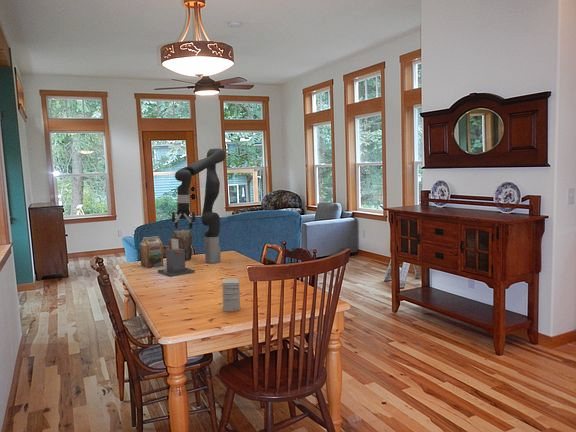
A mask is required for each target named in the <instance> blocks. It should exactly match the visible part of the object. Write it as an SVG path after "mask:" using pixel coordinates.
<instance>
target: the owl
mask: <svg viewBox="0 0 576 432" xmlns="http://www.w3.org/2000/svg"><path fill="white" fill-rule="evenodd" d="M172 233H173V234H172V237H171V239H172V238H176V239H178V244H179V248H180V249H184V250H185V262H189V260H191V259H192V254H193V249H192V242H193V237H192V230H191V229H181V230H173V231H172Z"/></svg>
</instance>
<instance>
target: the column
mask: <svg viewBox="0 0 576 432" xmlns="http://www.w3.org/2000/svg"><path fill="white" fill-rule="evenodd" d="M171 244H172V250H179V244H178V239H173V240H171Z"/></svg>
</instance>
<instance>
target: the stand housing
mask: <svg viewBox="0 0 576 432" xmlns="http://www.w3.org/2000/svg"><path fill="white" fill-rule="evenodd" d="M165 257H166V258H165V260H166V263H165V264H166V268H163V269H158V270H157V273H158V274H160V275H163V276H166V277H168V278H171V277H177V276H178V277H179V276H182V275H183V276H184V275H188V274H194V273H195V271H196V270H195V269H191V268H189V267H186V261H185V250H184V249H180V248H179V250H172V249H169V248H168V249H167V248H166V249H165Z"/></svg>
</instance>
